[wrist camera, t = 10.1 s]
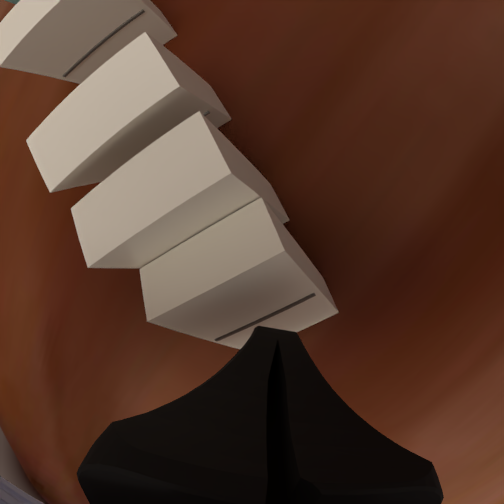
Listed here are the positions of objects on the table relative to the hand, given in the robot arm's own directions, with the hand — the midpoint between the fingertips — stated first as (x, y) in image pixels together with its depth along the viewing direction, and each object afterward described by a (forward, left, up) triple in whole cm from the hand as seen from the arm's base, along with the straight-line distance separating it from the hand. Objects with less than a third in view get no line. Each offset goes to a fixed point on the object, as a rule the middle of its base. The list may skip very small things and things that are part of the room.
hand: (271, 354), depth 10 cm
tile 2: (+8, -3, -5) cm, 10 cm away
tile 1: (+13, -5, -5) cm, 15 cm away
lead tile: (-1, 0, -4) cm, 4 cm away
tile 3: (+3, -1, -5) cm, 6 cm away
